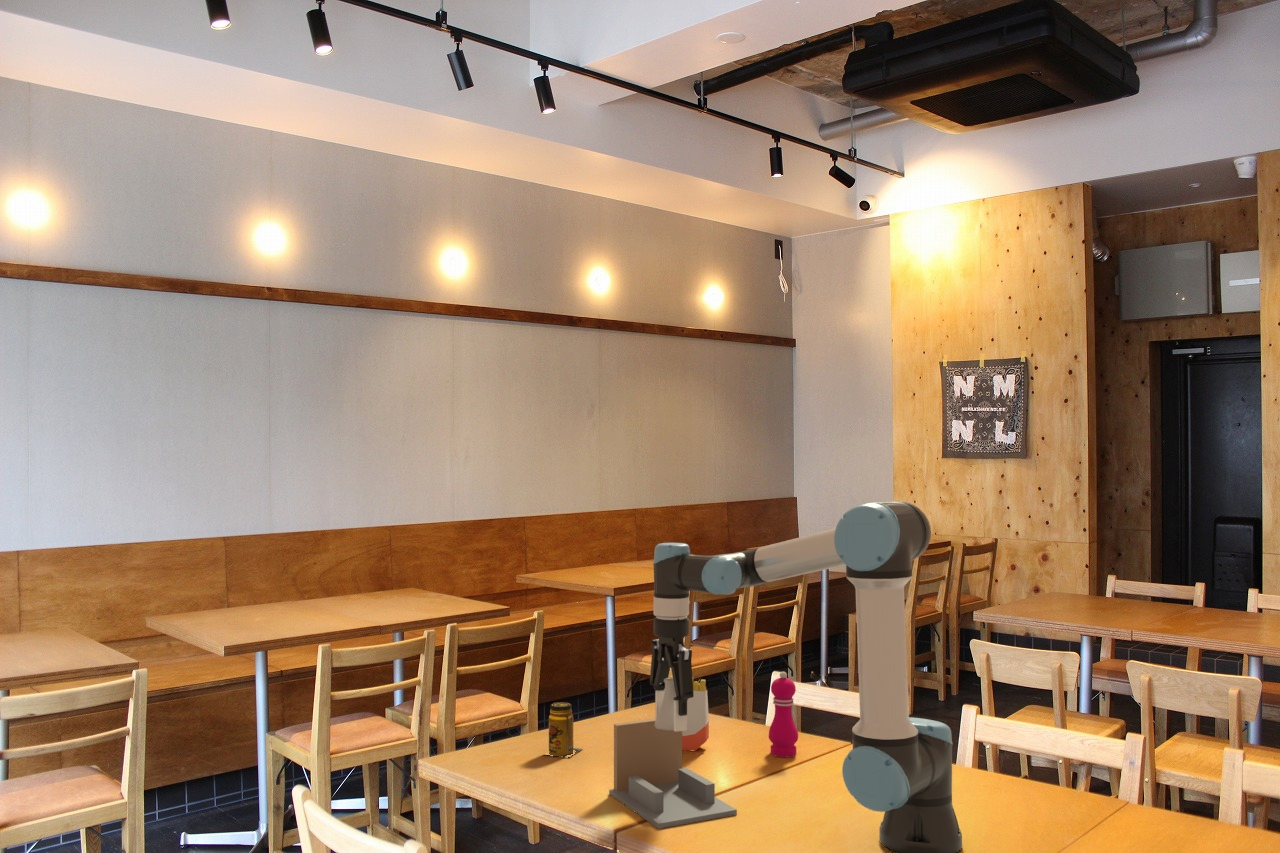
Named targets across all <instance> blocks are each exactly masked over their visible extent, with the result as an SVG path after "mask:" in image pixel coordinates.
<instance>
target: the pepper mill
mask: <svg viewBox="0 0 1280 853" xmlns="http://www.w3.org/2000/svg"><path fill="white" fill-rule="evenodd" d="M796 688H797V687H796V685H795V683H794V681H793V680H792V679H790V678H788V674H787V672H786V671H781V672H780V673H779V677H777V678H776V679H774V680H773V682H772V683H771V685H770V691H771V694H772V695H773V696H774V697H773V698H772V700H773V702H772V704H773V705H774V714H773V715H774V716H773V720H772V722H771V723H770V727H769V729H768V739H769V741H770V742H771V743H772V744H771V745H770V754H771V755H772V756H774V757H779V758H791V757H794V756H796V755H797V746H796V745H795V744H796V743H797V742H798V740H799V730H798V728H797V725H796V723H795V720H794V717H793V710H792V709H793V708H792V707H793V705H794V700H795V699H794V698H793V697H794V695H795V694H796V691H797V689H796Z"/></svg>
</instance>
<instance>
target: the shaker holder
mask: <svg viewBox="0 0 1280 853" xmlns="http://www.w3.org/2000/svg"><path fill="white" fill-rule="evenodd" d="M654 724H655V718H652V719H651V718H650V719H644V720H635V721H627V722H620V723H618V722H617V723H613V788H611V789H609V790H608V792H609V794H608V795H609V796H611V795H612V796H613V797H612V796H611V797H612V798H614V799H615V798H616V799H615V800H617V801H618V800H619V801H618V802H620V803H621V802H622V803H623V804H622V803H621V804H622V805H624V804H625V805H626V806H625V805H624V806H625V807H627V808H628V809H630V810H631V811H632V810H633V812H634V811H635V812H636V813H635V812H634V813H635V814H637V813H638V814H639V815H638V814H637V815H638V816H639V817H641V818H642V817H643V818H642V819H643V820H645V821H646V822H648V823H649V824H651V825H652V826H654V827H655V828H657V829H658V830H660V829H661V830H662V829H665V828H671V827H677V826H682V825H688V824H692V823H698V822H705V821H708V820H715V819H720V818H726V817H731V816H738V815H737V814H738V810H737V809H736V808H735V807H733V806H731V805H729V804H728V803H726V802H724V801H722V800H721V799H719V798H718V797H716V796H715V792H716V791H715V789H716V788H715V787H716V786H715V782H713V781H711V780H709V779H707V778H705V776H702V775H700V774H698V773H696V772H695V771H693V770H691V769H689V768H688V767H683V750H682V731H677V732H675V731H674V730H662V729H656V728H655V726H654Z"/></svg>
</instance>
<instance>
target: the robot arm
mask: <svg viewBox="0 0 1280 853" xmlns="http://www.w3.org/2000/svg"><path fill="white" fill-rule="evenodd" d="M931 527H932V526H931V524H930V521H929V519H928V517H927V515H926V513H924V512H923V510H921V509H920V507H918V506H916V505H914V504H913V503H911V502H907V501H901V500H896V501H895V500H893V501H882V502H873V501H872V502H868V503H867V502H864V503H863V504H860V505H856V506H854V507H851V508H850V509H849V510H847V511H846V512H845V513H843V515H842V516H841V517H840V518H839V520H838V521H837V524H836V526H835V528H831V529H829V530H825V531H820V532H816V533H813V534H812V533H811V534H808V535H804V536H800V537H797V538H792V539H788V540H785V541H781V542H777V543H772V544H769V545H765V546H761V547H756V548H752V549H747V550H744V551H738V552H733V553H723V554H715V555H714V554H713V555H701V554H692V553H691V550H690V545H689V544H687V543H684V542H662V543H658V544H656V546H655V547H654V553H653V554H654V556H653V562H652V564H653V582H654V583H653V584H654V588H653V590H654V591H653V616H655V617H654V618H653V635H654V636H655V637H657V638H658V639H656V638H655V639H652V640H651V642H650V643H651V660H650V676H649V684H650V686H653V689H654V691H655V696H654V697H655V699H654V700H655V713H654V714H655V718H654V719H655V721H656V718H657V715H658V713H659V710H660V707H661V704H662V701H663V698H664V692H665V690H664V689H665V682H664V679H666V678H669V677H670V676H669V675H670V670H671V676H673V682H674V687H675V693H676V697H675V698H673V699H674V731H675V732H677V731H685V730H687V700H688V699H689V698H693V696H694V694H693V683H694V678H693V679H692V677H693V668H692V667H693V666H692V656H693V651H692V648H686V647H685V646H686V645H685V642H684V639H685V637H688V635H689V634H690V618H688V616H689V614H690V604H691V600H690V592H699V593H704V594H705V593H706V594H712V595H715V596H719V595H727V596H729V595H732V594H735V592H736V590H738V589H742V588H750V587H757V586H761V585H762V584H767V583H770V582H775V581H779V580H783V579H788V578H789V579H790V578H791V577H798V576H802V575H807V574H812V573H816V572H820V571H826V570H829V569H834V568H839V567H843V566H845V568H846V569H845V572H846V573H845V574H846V576H845V577H846V579H847V580H848V581H849V582H850V583H851V584H852V585H853V586H854V589H855V609H856V610H855V611H856V612H855V613H856V637H857V638H856V640H857V663H858V664H857V667H858V668H857V669H858V671H857V672H858V693H859V694H858V696H859V720H858V721H857V722H856V723H855V725H854V726H852V729H851V735H852V736H851V738H852V740H851V741H852V743H851V744H852V749H851V750H850V751H849V752H848V753H847V755H846V756H845V758H844V760H843V763H842V770H841V771H842V777H843V778H842V779H843V782H844V785H845V787H846V789H847V791H848V793H849V794H850V795H851V796H852V797H853V798H854V799H855V800H856V802H857V803H858V804H859V805H861V806H862V807H864V808H866V809H868V810H871V811H874V812H880V813H883V812H884V814H883V818H882V821H881V823H880V824H879V834H878V835H879V837H878V838H879V842H880V843H881V844H882V846H884V847H885V848H887V849H889V850H891V851H894V852H896V853H956V852H958V851H959V850H960V849H961V848H963V834H962V831H961V829H960V827H959V822H958V818H957V815H956V812H955V809H954V806H953V745H954V743H953V741H952V740H953V738H952V737H953V736H952V730H951V727H949V725H947V724H946V723H944V722H941V721H938V720H932V719H929V718H928V719H927V718H922V717H921V718H920V717H912V716H911V717H909V716H910V715H909V690H908V689H909V686H908V664H907V662H908V661H907V659H908V658H907V639H906V638H907V637H906V636H907V635H906V634H907V633H906V612H905V611H906V610H905V608H906V607H905V606H906V605H905V587H906V585H907V583H908V582H909V581H910V580H912V578H913V570H912V569H913V567H912V566H913V563H912V562H913V561H916V559H917V558H918V559H919V558H920V557H921V556H922V555H923V554H924V553H925V552H926V551H927V549H928V547H929V545H930V542H931V538H932V530H931ZM961 850H962V849H961ZM961 850H960V851H961ZM960 851H959V852H960ZM959 852H958V853H959Z"/></svg>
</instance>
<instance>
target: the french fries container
mask: <svg viewBox="0 0 1280 853" xmlns="http://www.w3.org/2000/svg"><path fill="white" fill-rule="evenodd" d="M669 678H673V676H672V675H670V676H669ZM692 679H693V680H694V676H692ZM706 681H707V680H706V679H700V681H693V694H694V696H693V698H689V699H688V700H687V725H688V727H687V730H685V731H682V751H686V750H694V751H693V752H695V751H697V750H698V749H699V748H700V747H701V746H703V745H704V744H705V743H707V740H708V739H709V737H710V736H709V734H710V733H709V732H710V729H709V728H710V723H709V722H710V721H709V720H710V719H709V717H710V716H709V702H708V701H709V700H708V699H709V698H708V689H707V686H706ZM664 690H665V689H664Z"/></svg>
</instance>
